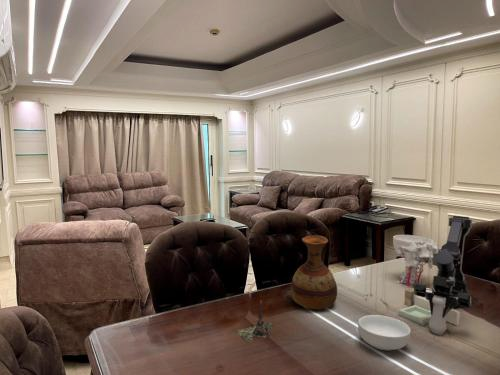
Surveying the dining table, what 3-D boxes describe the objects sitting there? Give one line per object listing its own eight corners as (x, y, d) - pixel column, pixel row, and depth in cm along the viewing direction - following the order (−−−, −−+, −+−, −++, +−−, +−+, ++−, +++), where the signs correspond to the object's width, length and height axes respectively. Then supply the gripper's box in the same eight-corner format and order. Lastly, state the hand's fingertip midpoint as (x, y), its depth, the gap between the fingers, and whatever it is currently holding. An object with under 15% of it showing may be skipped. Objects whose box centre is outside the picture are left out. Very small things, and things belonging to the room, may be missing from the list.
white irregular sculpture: (382, 277, 197) (384, 235, 195) (411, 275, 203) (413, 234, 201) (415, 294, 173) (418, 246, 172) (448, 290, 179) (450, 244, 177)
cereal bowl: (404, 363, 113) (406, 341, 113) (351, 348, 122) (352, 327, 121) (413, 341, 128) (414, 321, 127) (364, 329, 136) (365, 310, 136)
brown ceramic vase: (284, 308, 154) (286, 237, 152) (297, 292, 172) (299, 229, 170) (332, 316, 146) (334, 242, 144) (339, 299, 165) (342, 233, 163)
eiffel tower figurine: (270, 323, 140) (271, 289, 139) (285, 335, 131) (286, 298, 130) (235, 331, 133) (235, 295, 132) (247, 344, 124) (248, 305, 123)
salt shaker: (448, 336, 131) (450, 301, 130) (430, 334, 132) (432, 299, 131) (443, 329, 137) (445, 295, 136) (426, 327, 138) (428, 293, 137)
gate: (413, 305, 159) (414, 294, 158) (459, 324, 141) (459, 311, 140) (411, 306, 158) (411, 294, 158) (456, 325, 140) (457, 312, 140)
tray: (414, 310, 154) (414, 305, 154) (438, 319, 146) (438, 314, 145) (398, 315, 149) (398, 310, 149) (422, 325, 140) (422, 319, 140)
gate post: (409, 303, 162) (409, 288, 161) (414, 305, 159) (415, 290, 159) (404, 304, 160) (405, 289, 160) (410, 307, 158) (410, 291, 157)
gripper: (415, 262, 141) (406, 298, 134) (472, 272, 130) (465, 312, 122) (420, 277, 148) (411, 312, 140) (473, 287, 137) (467, 327, 129)
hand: (437, 315), depth 133 cm, fingers closed on salt shaker, 3 cm apart
